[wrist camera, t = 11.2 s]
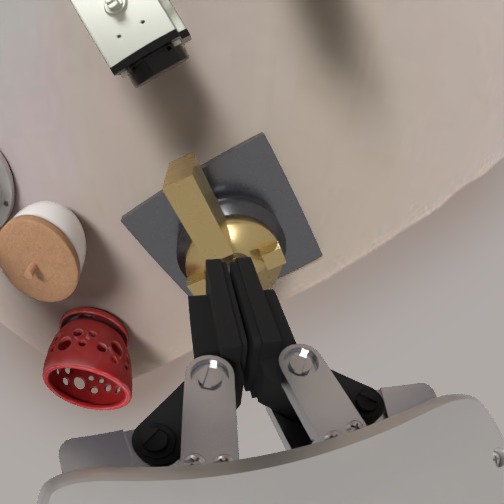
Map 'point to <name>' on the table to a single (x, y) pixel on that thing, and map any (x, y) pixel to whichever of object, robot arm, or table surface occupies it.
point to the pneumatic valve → (136, 36)
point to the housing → (230, 209)
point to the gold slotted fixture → (217, 228)
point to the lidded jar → (43, 251)
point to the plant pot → (90, 360)
